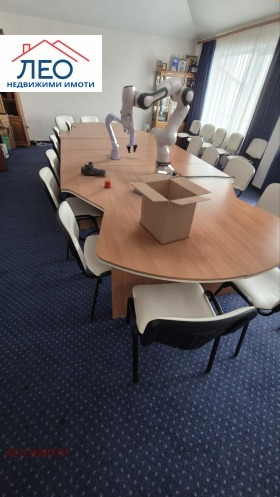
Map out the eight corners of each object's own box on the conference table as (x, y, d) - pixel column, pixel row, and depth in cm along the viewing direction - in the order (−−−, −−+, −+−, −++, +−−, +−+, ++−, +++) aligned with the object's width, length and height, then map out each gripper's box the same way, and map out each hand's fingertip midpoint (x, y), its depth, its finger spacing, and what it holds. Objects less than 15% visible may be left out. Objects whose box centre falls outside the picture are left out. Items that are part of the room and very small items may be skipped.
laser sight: (103, 178, 196) (102, 166, 190) (79, 175, 199) (78, 163, 193) (106, 175, 204) (106, 163, 198) (83, 172, 206) (82, 160, 201)
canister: (107, 185, 183) (107, 180, 180) (111, 187, 181) (111, 181, 178) (103, 187, 180) (103, 181, 177) (107, 188, 178) (107, 182, 175)
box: (210, 242, 124) (224, 196, 108) (157, 258, 109) (164, 208, 93) (167, 209, 154) (173, 169, 138) (121, 218, 140) (121, 175, 123)
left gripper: (129, 140, 231) (129, 154, 239) (139, 139, 239) (139, 152, 247) (125, 139, 235) (124, 152, 243) (135, 138, 243) (134, 151, 251)
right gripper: (136, 114, 157) (134, 135, 165) (127, 111, 172) (126, 131, 180) (127, 113, 154) (126, 135, 163) (119, 110, 170) (119, 130, 178)
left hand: (131, 152), depth 246 cm, fingers open, 7 cm apart
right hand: (126, 133), depth 171 cm, fingers open, 8 cm apart
